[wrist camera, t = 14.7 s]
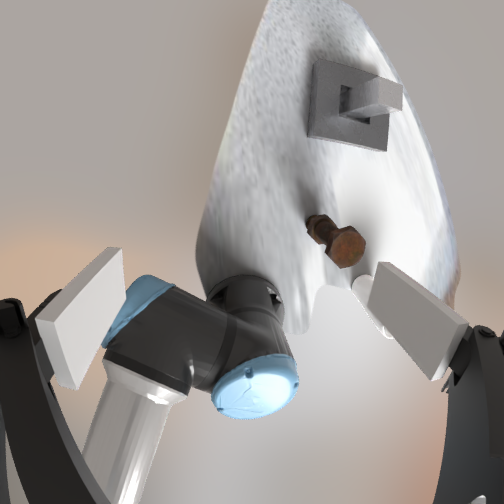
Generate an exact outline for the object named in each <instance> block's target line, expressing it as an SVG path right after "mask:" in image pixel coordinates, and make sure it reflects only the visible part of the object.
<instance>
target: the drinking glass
mask: <svg viewBox="0 0 504 504" xmlns="http://www.w3.org/2000/svg"><path fill="white" fill-rule="evenodd" d="M373 281H374V278H373V277H371V276H370V275H361V276H359V277H357V278H356V279H355V281H354V282H353V284H352V293H353V295H354V296H355V297H356V298H357V300H358V301H359V303H360V304H361V306H362V307H363V308H364V310H365V312H366V313H367V314H368V316H369V318H370V319H371V321H372V322H373V324H374V325H375V326H376V327H377V329H378V330H379V331H380V332H381V333H382V334H383V335H384V336H385V337H386V338H389V339H393V338H394V337H393V336H392V335H391V334H390V332H389V331H388V330H387V329H386V328H385V327H384V326H383V324H382V323H381V322H380V321H379V320H378V319H377V318H376V317H375V315H374V314H373V313H372V312H371V311H370V310H369V309H368V308H367V303H368V300H369V296H370V292H371V289H372V285H373Z"/></svg>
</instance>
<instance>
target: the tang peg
mask: <svg viewBox="0 0 504 504" xmlns="http://www.w3.org/2000/svg"><path fill="white" fill-rule="evenodd" d="M402 93H403V85H400V84H398V83H395V82H393V81H390V80H388V79H385V78H382V77H377V78H374V79H372V80H370V81H367V82H365V83H363V84H360V85H358V86H356V87H354V88H352V89H349V90H347V91H345V92H343V93H341V94H340V106H339V115H340V116H345V117H349V118H353V119H357V120H358V119H363V118H368V117H372V116H377V115H382V114H388V113H393V112H399V111H402Z"/></svg>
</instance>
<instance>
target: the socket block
mask: <svg viewBox="0 0 504 504" xmlns="http://www.w3.org/2000/svg"><path fill="white" fill-rule="evenodd" d="M377 77H380V76H377V75H374V74H371V73H368V72H365V71H362V70H359V69H356V68H352V67H349V66H345V65H342V64H338V63H335V62H331V61H327V60H323V59H319V60H318V61H317V62H316V63H314V64H313V75H312V89H311V101H310V113H309V125H308V135H307V137H309V138H315V139H321V140H326V141H332V142H337V143H342V144H347V145H351V146H356V147H360V148H365V149H369V150H373V151H382V152H387V142H388V129H389V113H388V114H382V115H377V116H372V117H368V118H363V119H358V120H357V119H353V118H349V117H345V116H340V115H339V106H340V94H341V93H343V92H345V91H347V90H349V89H352V88H354V87H356V86H358V85H360V84H363V83H365V82H367V81H370V80H372V79H374V78H377Z"/></svg>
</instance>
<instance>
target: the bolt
mask: <svg viewBox="0 0 504 504" xmlns="http://www.w3.org/2000/svg"><path fill="white" fill-rule="evenodd" d="M306 228H307V229H308V230H307V233H308V234H309V235H310V236H311V237H312V238H313V239H314V240H315V241H316V242H317V243H318V244H325V245H326V250H325V253H326V254H327V255H328V256H329V257H330V259H331V260H332V261H333V262H334V263H335V264H336V265H337V266H338V267H339V268H340V269H341V268H347V267H350V266H353V265H355V264H357V263H358V262H359V261H360V260H361V258H362V256H363V254H364V251H365V245H366V242H365V240H364V239H363V237H362V236H361V235H360V234H359V232H358V231H357V230H356V229H355V228H354V227H352V226H347V227H344V228H341V229H339V228H337V226H336V224H335V223H334V222H333V221H332V220H331V219H330V218H329V217H328V216H327V215H325V214H324V215H319V216H317V215H313V216H311V217H310V218H309V219H308V221H307V223H306Z"/></svg>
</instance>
